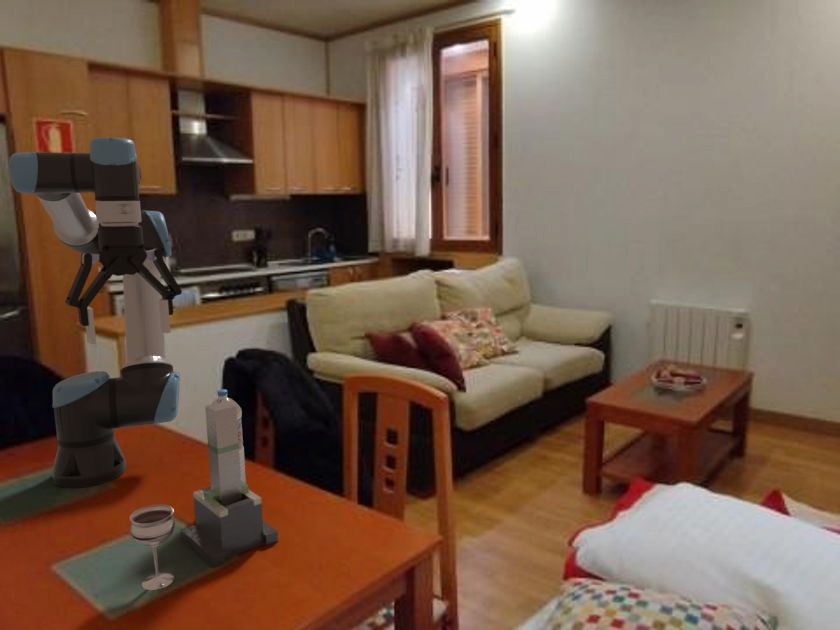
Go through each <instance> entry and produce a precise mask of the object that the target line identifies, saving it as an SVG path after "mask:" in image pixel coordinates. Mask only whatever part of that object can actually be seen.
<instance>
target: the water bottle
mask: <svg viewBox="0 0 840 630" xmlns="http://www.w3.org/2000/svg"><path fill="white" fill-rule="evenodd" d="M224 401H227V402H229V403H231V404H233V405H235V406H236V410H237V425H238V441H239V457H240V473H241V481H242V482H244V483H245V484H247V479H246V465H245V464H246V463H245V447H244V445H243V444H244V440H243V427H242V426H243V425H242V415H243V414H242V413H243V411H242V407H240V405H239V404H238V403H237V402H236V401H235V400H233V398H230V397H228V390H227V389H224V388H223V389H219V390H217V398H216V399H215V400H214V401H212V403H211V404H216V403H220V402H224Z"/></svg>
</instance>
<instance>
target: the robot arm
mask: <svg viewBox="0 0 840 630" xmlns="http://www.w3.org/2000/svg"><path fill="white" fill-rule="evenodd" d="M89 151H90V152H48V151H47V152H44V151H43V152H42V151H39V152H38V151H37V152H36V151H30V152H29V151H28V152H15V153H13V154H12V155H11V156H10V157H9V162H8V165H9V167H8V168H9V169H8V170H9V177H10V182H11V185H12V187H13V189H14V191H16V192H17V193H18V194H19V193H20V194H29V195H34V194H35V196H36V197H37V199H38V200H39V203H41V205H42V207H43V208H44V210H45V212H46V213H47V214H48V216H49V218H50V220H51V221H52V226H53V227H52V228H53V232H54V234H55V236H56V237H57V238H58V240H59V241H60V243H62V244H63V245H64V246H66V247H68V248H69V249H71V250H73V251H74V252H77V253H79V254H80V266H79V268H78V270H77V273H76V275H75V278H74V279H73V282H72V285H71V287H70V289H69V291H68V293H67V294H68V295H67V296H66V299H65V305H67V306H71V307H74V308H77V314H78V320H79V324H80V326H82V327H85V332H86V333H85V335H86V341H87V343H89V344H90V345H96V344H97V339H96V337H97V336H96V328H95V327H96V326H95V318H94V309H93V308H92V307H90V304H91V302H92V301H94V299H95V298H96V296H97V295H98V294H99V292H100V291H101V290H102V288H103V287H104V286H105V284H106V283H107V281H108V280H110V278H112V276H116V277H120V276H122V282H123V283H122V285H123V288H122V289H123V304H124V305H123V307H124V308H123V309H124V324H125V325H124V328H125V329H124V330H125V333H124V334H125V345H126V346H125V349H126V362H125V363H124V364H123V365H122V366H121V367H120V369H119V373H120V376H118V377H110V376H111V375H110V374H109V373H108V372H107V371H98V370H97V371H90V372H85V373H81V374H77V375H73V376H71V377H68V378H65V379H63V380H61V381H59V382H58V383H56V384H55V386H54V387H53V388H52V405H51V407H52V408H53V414H54V416H53V417H54V422H55V430H56V431H55V432H56V439H57V450H56V451H57V452H56V454H55V458H54V463H53V467H52V470H51V471H52V473H51V474H52V475H51V476H52V483H53V484H54V485H56V486H58V487H61V488H67V489H68V488H69V489H75V488H86V487H93V486H97V485H100V484H104V483H106V482H110V481H112V480H114V479H116V478H119V476H122V475H123V473H125V471H126V469H127V464H126V458H125V455H124V454H123V451H122V450H121V447H120V445H119V444H118V441H117V440H116V437H115V436H116V435H115V429H123V428H132V427H141V426H146V425H147V426H149V425H154V426H155V425H158V424H164V423H169V422H172V421H173V420H175V419H176V418H177V417H178V413H179V412H178V411H179V405H180V404H179V403H180V391H181V390H180V387H181V386H180V385H181V384H180V383H181V374H180V372H178V371H176V370H175V371H174V365H173V364H172V363H171V362H169V361H168V359H167V358H166V343H165V334H171V324H170V323H171V322H170V316H173V315H174V303H173V302H174V301H173V300H174V299H175V297H176V296H180V295H182V293H183V291H182V289H181V288H180V285H179V284H178V282H177V281H176V279H175V277H174V276H173V274H172V272H171V270H170V268H168V265H167V258H168V257H171V256H172V254H173V253H172V248H171V247H172V246H171V242H170V238H169V232H168V227H167V224H166V218H165V216H164V214H163V213H162V212H160V211H157V210H145V209H142V210H141V201H140V200H141V199H140V191H139V189H140V187H139V185H140V183H141V180H142V172H141V167H140V165H139V163H138V162H137V161H138V160H137V158H138V157H137V156H138V155H137V153H136V145H135V142H134V141H133V140H131V139H129V138H125V137H95V138H92V139H91V140H90V143H89ZM82 193H85V194H86V193H87V194H89V193H90V194H93V193H94V204H95V205H94V206H95V211H93V210H90V209H88V206H87V205H86V203H85V201H84V199H83V197H82V195H81V194H82ZM97 261H98V262H99V263H100V264H101V265H102V268H101V269H100V270H99V272H98V273H97V276H96V277H95V278H94V279H93V280H92V282H91V283H90V285H89V286H88V287H87V289H86V290H85V291H84V293H83V294H82V291H83V289H84V287H85V285H86V283H87V280H88V277H89V276H90V273H91V270H92V266H95V265H96V263H97ZM161 278H162V279H161ZM162 280H163V281H164V283H165V284H166V286H167V287H168V288H167V287H166V286H165V285H164V284H162ZM81 294H82V296H81Z"/></svg>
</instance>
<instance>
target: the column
mask: <svg viewBox="0 0 840 630" xmlns="http://www.w3.org/2000/svg"><path fill="white" fill-rule="evenodd" d="M204 407H205V408H204V409H205V421H206V423H205V424H206V436H207V437H206V439H207V444H206V445H207V449H208V451H207V452H208V463H209V464H208V465H209V479H210V486H211V490H208V491H205V492H204V498H205V499H206V500H207V501H209V502H210V503H211V504H214V503H217V502H218V503H220V504H221V505H222V506H224V507H225V506H227V505H230V504H233V503H236V502H239V501H242V494H243V493H246V492H249V490H250V489H249V485H248V484H247V483H246V484H245V483H244V482H242V481H241V473H240V457H239V441H238V425H237V410H236V406H235V405H233V404H231V403H229V402H227V401H224V402H220V403H216V404H212V403H210V404H208V405H205V406H204Z"/></svg>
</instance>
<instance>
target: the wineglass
mask: <svg viewBox="0 0 840 630" xmlns="http://www.w3.org/2000/svg"><path fill="white" fill-rule="evenodd" d="M174 512H175V511H174V508H173V507H172V506H170V505H166V504H153V505H152V504H151V505H148V506H144V507H141V508H139V509H137V510H135V511H133V512H132V514H131V515H130V516H129V520H130V521H131V524H130V525H131V526H130V535H131V537H132V538H133V540H134V541H135V542H137V543H138V544H140V545H142V546H145V547H150V548H152V549H151V550H152V555H153V564H154V569H155V574H151V575H149V576H147V577H145V579H144V580H143V581H142V582H141V587H142V588H143V589H144V590H147V591H157V590H161V589H164V588H166V587H168V586H169V585H171V584H172V583H173V581H174V579H175V576H174V575H173V573H172V574H171V573H168V572H159V551H158V547H159V546H160V545H161V544H163V543H165V542H166V541H167V540H168V539H169V537H170V536H171V535H172V534H173V532H174V530H175V526H176V525H175V524H176V520H175V519H176V518H175V517H174V516H173V515H174Z"/></svg>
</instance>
